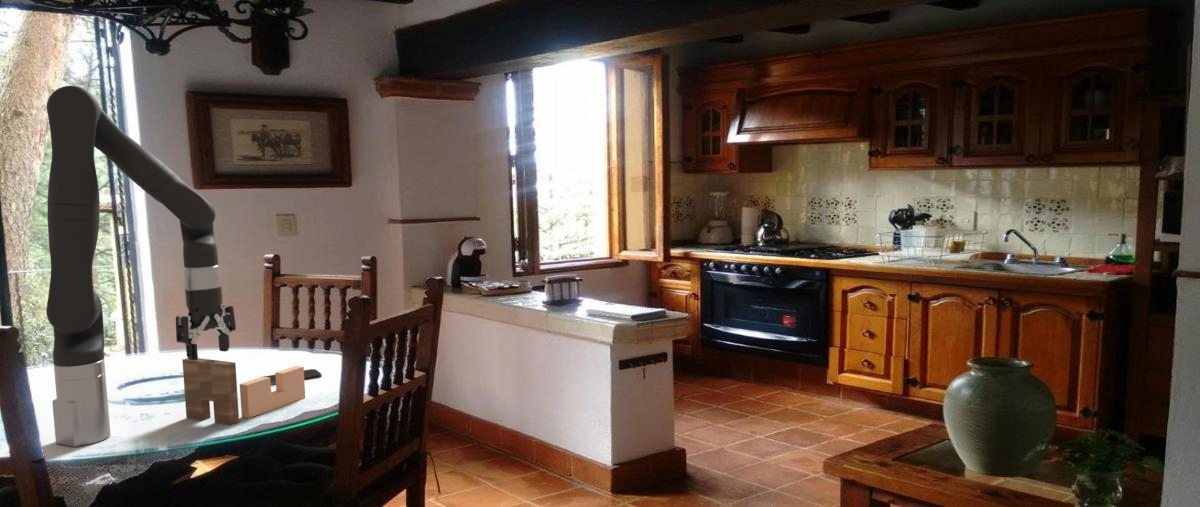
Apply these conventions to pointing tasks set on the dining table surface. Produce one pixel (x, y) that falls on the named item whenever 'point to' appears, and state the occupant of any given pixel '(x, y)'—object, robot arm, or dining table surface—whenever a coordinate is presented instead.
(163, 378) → the dining table surface
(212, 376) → the upright wooden board
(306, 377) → the phone
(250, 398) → the horizontal wooden crosspiece
